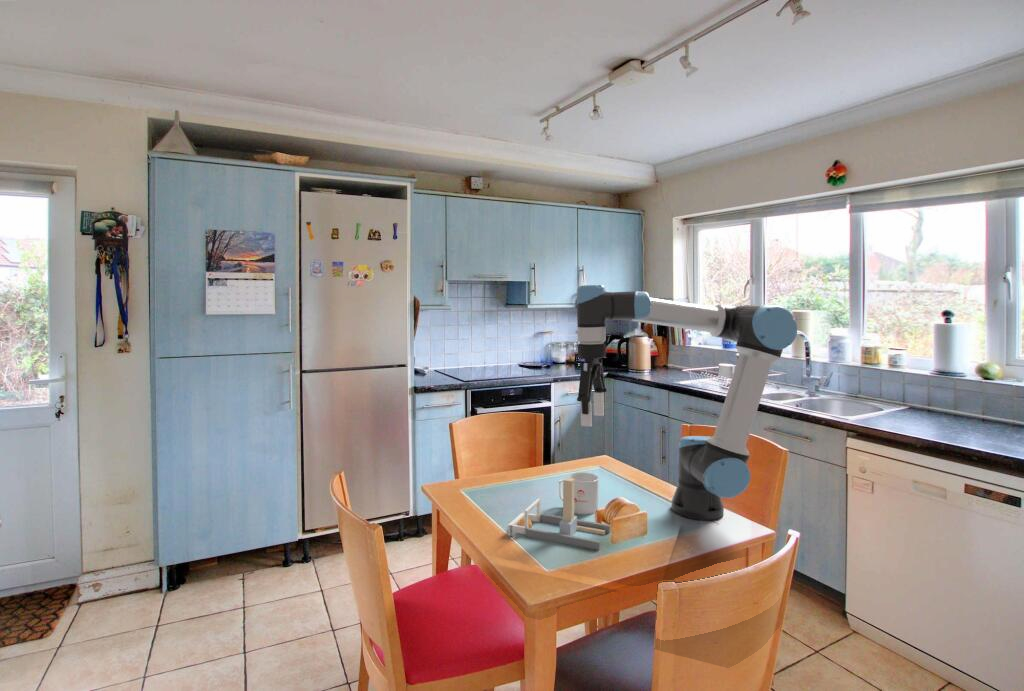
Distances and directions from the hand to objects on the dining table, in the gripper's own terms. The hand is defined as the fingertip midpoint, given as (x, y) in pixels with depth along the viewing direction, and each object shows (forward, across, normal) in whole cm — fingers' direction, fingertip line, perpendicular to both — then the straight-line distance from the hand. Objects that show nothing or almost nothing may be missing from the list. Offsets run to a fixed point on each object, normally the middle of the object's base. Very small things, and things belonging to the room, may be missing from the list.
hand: (592, 420), depth 148 cm
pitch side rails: (+31, +6, -6) cm, 32 cm away
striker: (+30, +6, -6) cm, 31 cm away
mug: (+32, -12, -8) cm, 35 cm away
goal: (+31, +6, -19) cm, 37 cm away
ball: (+29, +6, -18) cm, 35 cm away
